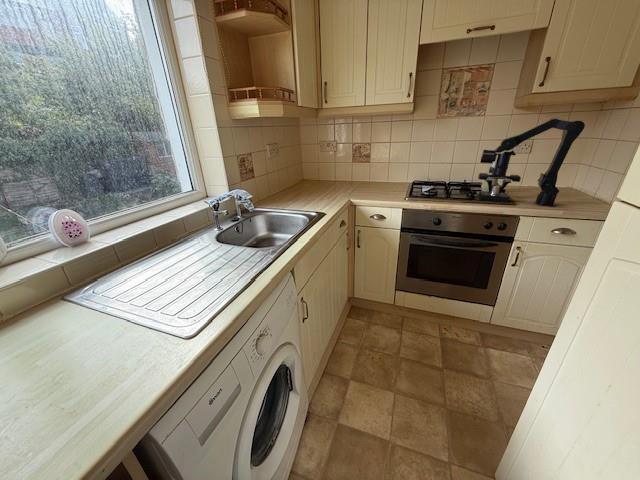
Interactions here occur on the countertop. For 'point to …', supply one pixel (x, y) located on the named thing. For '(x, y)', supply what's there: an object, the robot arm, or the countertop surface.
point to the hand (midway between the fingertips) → (494, 193)
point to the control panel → (494, 197)
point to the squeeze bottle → (485, 183)
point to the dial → (495, 189)
